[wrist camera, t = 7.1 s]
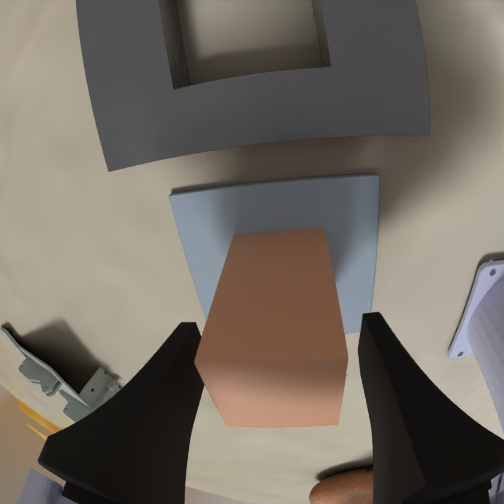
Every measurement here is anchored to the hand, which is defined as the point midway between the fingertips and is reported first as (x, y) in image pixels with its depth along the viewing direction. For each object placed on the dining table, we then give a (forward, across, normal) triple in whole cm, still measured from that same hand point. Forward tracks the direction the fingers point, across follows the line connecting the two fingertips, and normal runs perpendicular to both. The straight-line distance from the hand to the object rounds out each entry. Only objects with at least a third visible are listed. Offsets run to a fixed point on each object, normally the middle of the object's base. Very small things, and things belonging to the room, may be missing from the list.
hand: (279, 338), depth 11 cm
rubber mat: (+4, 0, 0) cm, 4 cm away
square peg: (+4, 0, 0) cm, 4 cm away
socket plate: (+4, 0, -12) cm, 12 cm away
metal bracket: (+5, +22, +12) cm, 25 cm away
